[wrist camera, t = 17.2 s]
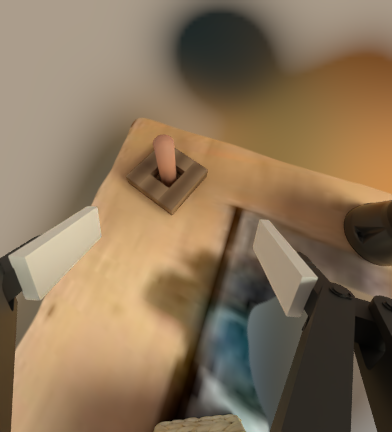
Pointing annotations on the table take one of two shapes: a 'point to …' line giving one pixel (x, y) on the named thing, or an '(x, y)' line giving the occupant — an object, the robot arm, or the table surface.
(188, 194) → the socket block
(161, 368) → the table surface
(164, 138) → the pin
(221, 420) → the storage basket
